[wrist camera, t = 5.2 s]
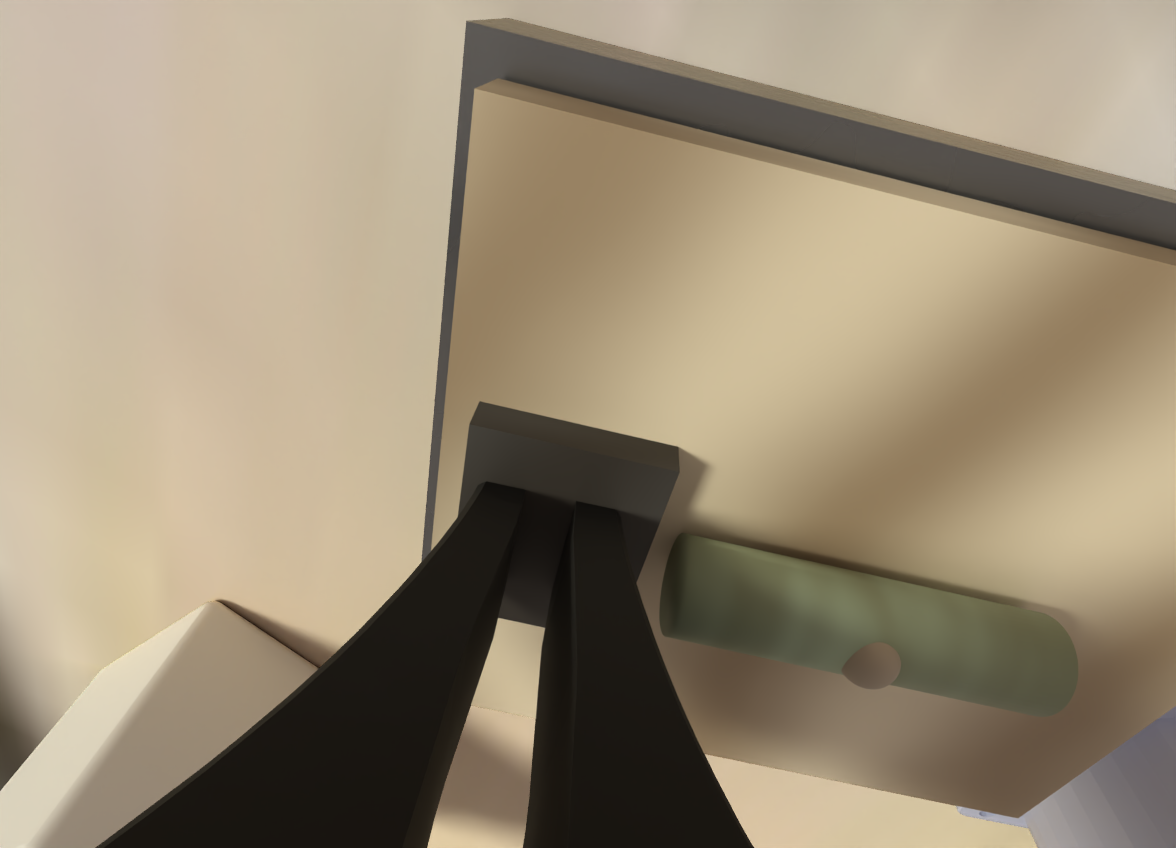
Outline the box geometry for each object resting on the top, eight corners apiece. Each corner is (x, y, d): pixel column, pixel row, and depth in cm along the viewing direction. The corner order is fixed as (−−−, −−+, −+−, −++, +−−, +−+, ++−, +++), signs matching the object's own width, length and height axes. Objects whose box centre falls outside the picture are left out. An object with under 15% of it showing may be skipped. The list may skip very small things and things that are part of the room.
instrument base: (1366, 240, 10) (1561, 302, 8) (952, 671, 18) (995, 766, 16) (508, 18, 10) (466, 20, 7) (445, 564, 17) (414, 648, 15)
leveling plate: (1514, 336, 8) (1891, 480, 6) (994, 765, 15) (1062, 917, 12) (498, 78, 8) (420, 111, 5) (433, 647, 14) (386, 782, 12)
